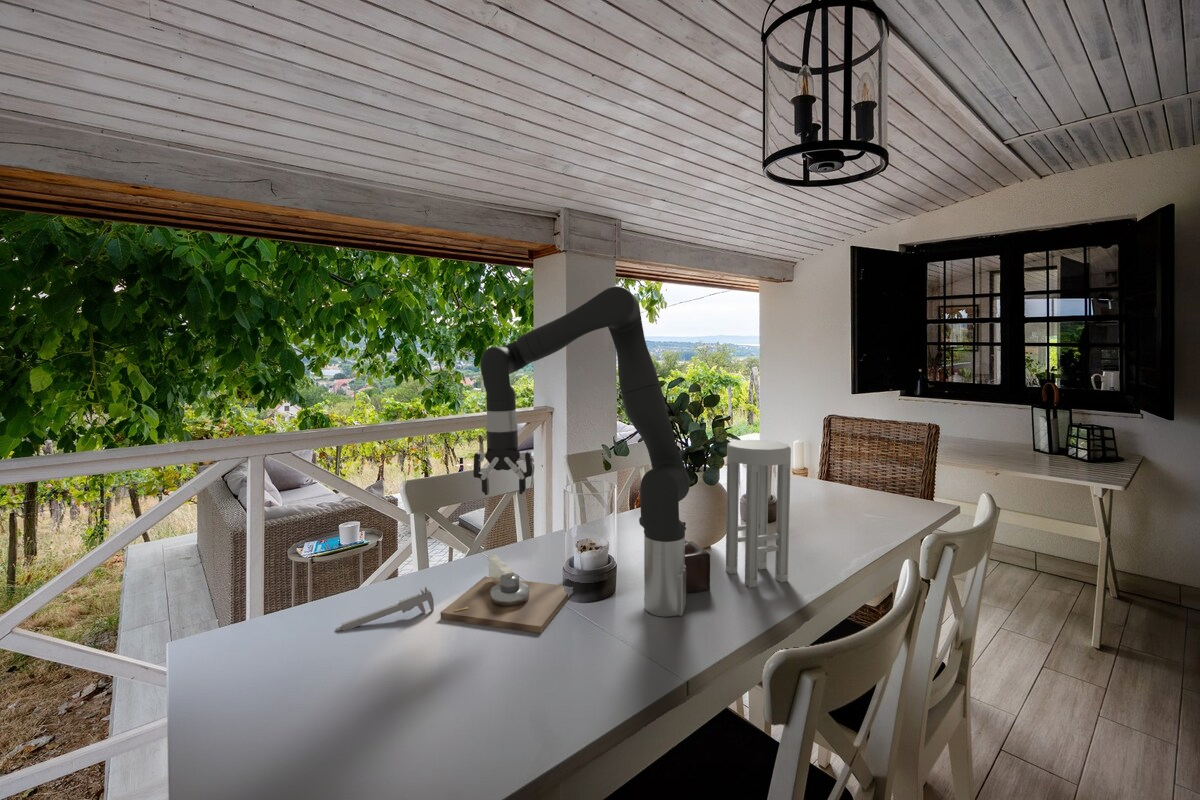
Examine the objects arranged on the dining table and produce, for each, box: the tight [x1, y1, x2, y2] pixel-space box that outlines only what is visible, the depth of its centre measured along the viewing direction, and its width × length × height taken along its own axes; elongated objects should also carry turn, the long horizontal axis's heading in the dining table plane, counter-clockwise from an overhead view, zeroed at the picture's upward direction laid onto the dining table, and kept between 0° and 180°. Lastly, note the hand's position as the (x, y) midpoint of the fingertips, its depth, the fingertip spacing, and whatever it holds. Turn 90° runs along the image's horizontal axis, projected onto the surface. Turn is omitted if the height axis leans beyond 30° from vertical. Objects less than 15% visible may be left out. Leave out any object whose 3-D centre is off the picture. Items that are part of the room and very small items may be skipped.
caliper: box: [335, 586, 435, 632], centre depth 126 cm, size 20×1×6 cm, turn 116°
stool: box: [725, 439, 792, 588], centre depth 148 cm, size 16×16×35 cm
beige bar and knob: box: [487, 554, 530, 606], centre depth 137 cm, size 18×9×6 cm, turn 29°
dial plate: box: [439, 576, 569, 634], centre depth 134 cm, size 24×21×2 cm
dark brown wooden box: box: [638, 516, 711, 595], centre depth 143 cm, size 16×11×18 cm
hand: (504, 493), depth 141 cm, fingers open, 8 cm apart
